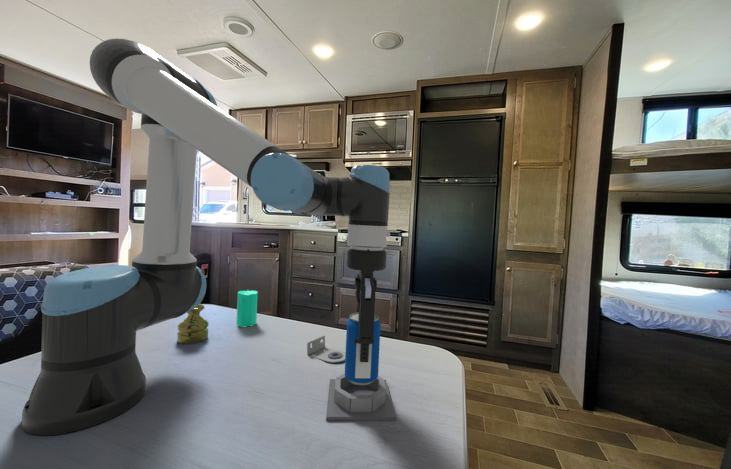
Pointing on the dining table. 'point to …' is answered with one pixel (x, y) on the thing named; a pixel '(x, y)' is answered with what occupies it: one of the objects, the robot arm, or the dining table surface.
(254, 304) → the candle
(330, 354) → the bracket
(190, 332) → the yellow knotted piece
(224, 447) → the dining table surface
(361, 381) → the beverage can
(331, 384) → the cup holder
